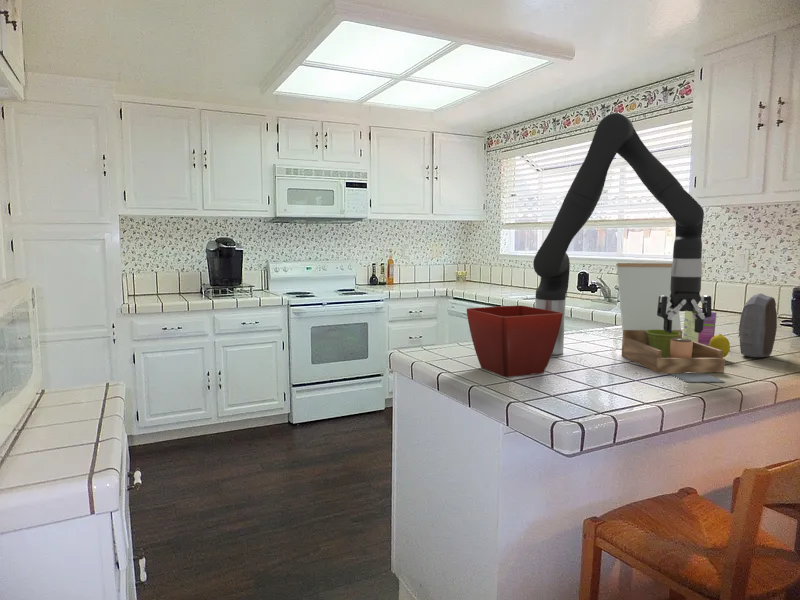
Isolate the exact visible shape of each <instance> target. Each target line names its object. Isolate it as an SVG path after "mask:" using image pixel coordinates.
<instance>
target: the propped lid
mask: <svg viewBox="0 0 800 600" xmlns="http://www.w3.org/2000/svg"><path fill="white" fill-rule="evenodd" d="M615 267H616V271H617V272H616V273H617V284H618V295H619V305H620V308H619V309H620V318H621V329H622V332H623V330H664V328H663V327H664V319H663V318H662V317H659V316H657V309H658V300H659V296H660V295H662V296H668V297H669V296H670V294H671V290H670V286H671V267H672V263H669V262H668V263H660V262H659V263H657V262H656V263H655V262H653V263H652V262H651V263H650V262H649V263H647V262H646V263H644V262H642V263H641V262H638V263H637V262H635V263H634V262H632V263H631V262H617V263H616V266H615ZM670 305H671V302H670V301H669V302H668V304H667V308H666V311H667V309H668V308H669V306H670ZM680 315H681V314H680V311H678V313H677V314H675V315H674V316H673V317H672V319H671V320H672V330H681V331H682V326H681V317H680Z"/></svg>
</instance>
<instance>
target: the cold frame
mask: <svg viewBox="0 0 800 600" xmlns="http://www.w3.org/2000/svg"><path fill="white" fill-rule="evenodd" d="M646 331H647V330H623V331H622V342H621V356H622V357H624V358H626V359H627V360H630V361H633V362H634V363H636V364H637V365H638V364H639V365H640V366H643V367H645V368H647V369H649V370H651V371H653V372H655V373H656V374H681V373H680V372H724V373H725V365H726V358H725V357H723V358H722V356H723V351H722V350H719V349H716V348H713V347H710V346H707V345H704V344H701V343H698V342H695V341H693V347H692V358H661V356H662V351H661V350H659V349H656V348H654V347H651V346H649V339H648V336H647V333H646ZM672 331H676V332H679V333H681V335H679V338H683V330H682V329H681V330H672ZM691 341H692V340H691Z"/></svg>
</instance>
